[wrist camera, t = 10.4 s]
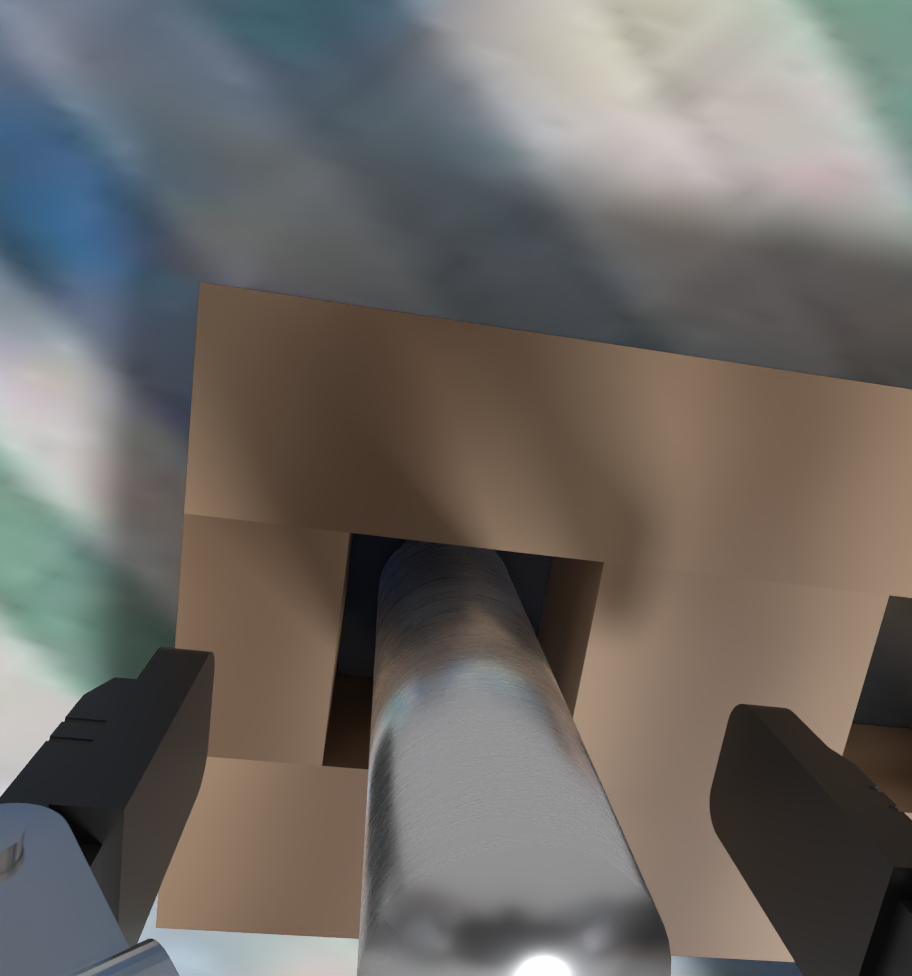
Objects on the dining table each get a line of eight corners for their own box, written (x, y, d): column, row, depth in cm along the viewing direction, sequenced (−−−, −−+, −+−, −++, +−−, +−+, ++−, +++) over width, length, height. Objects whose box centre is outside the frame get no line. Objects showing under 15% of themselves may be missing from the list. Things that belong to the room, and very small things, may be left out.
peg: (520, 537, 16) (700, 857, 7) (499, 659, 17) (636, 1112, 7) (387, 521, 16) (377, 834, 6) (370, 646, 17) (339, 1102, 7)
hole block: (1121, 421, 17) (1303, 448, 14) (968, 863, 20) (1087, 977, 16) (244, 289, 15) (199, 282, 11) (202, 807, 17) (156, 927, 14)
